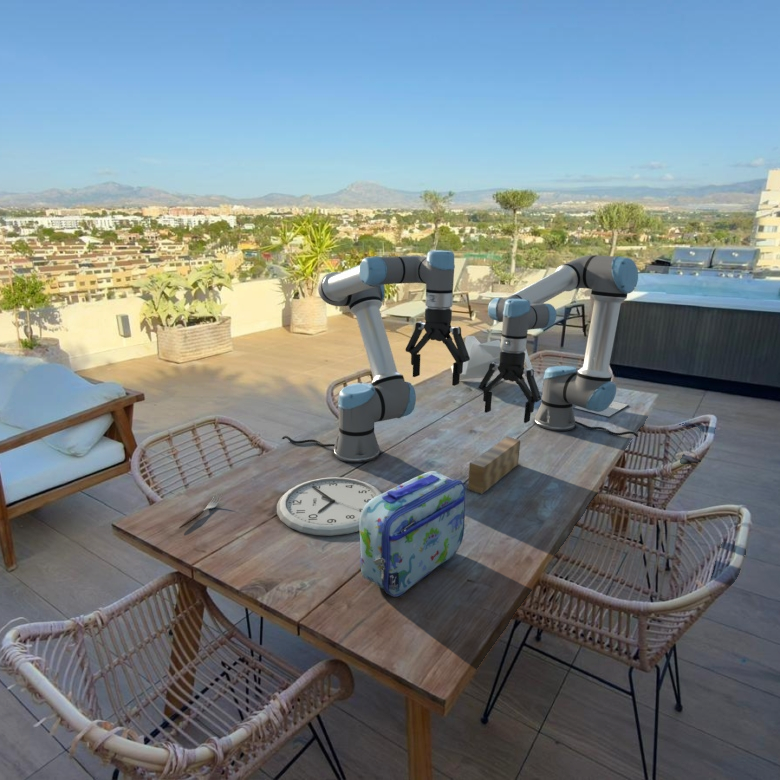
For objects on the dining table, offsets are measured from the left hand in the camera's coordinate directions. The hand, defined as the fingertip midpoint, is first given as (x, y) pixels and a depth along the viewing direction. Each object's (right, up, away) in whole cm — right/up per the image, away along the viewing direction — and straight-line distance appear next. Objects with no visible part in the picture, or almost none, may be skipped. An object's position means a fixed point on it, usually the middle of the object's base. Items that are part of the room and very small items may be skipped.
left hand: (435, 380), depth 153 cm
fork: (-63, -36, -16) cm, 74 cm away
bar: (+19, -29, +8) cm, 36 cm away
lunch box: (-8, -43, -36) cm, 57 cm away
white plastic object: (+35, -2, +98) cm, 104 cm away
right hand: (+24, -11, +12) cm, 29 cm away
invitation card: (+78, -10, +73) cm, 108 cm away
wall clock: (-29, -34, -10) cm, 46 cm away
